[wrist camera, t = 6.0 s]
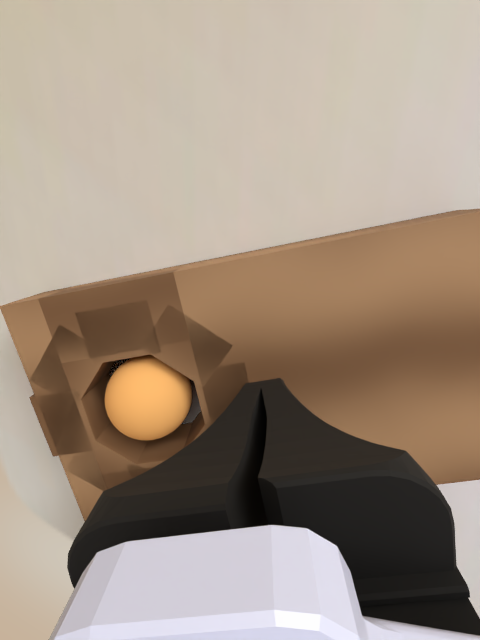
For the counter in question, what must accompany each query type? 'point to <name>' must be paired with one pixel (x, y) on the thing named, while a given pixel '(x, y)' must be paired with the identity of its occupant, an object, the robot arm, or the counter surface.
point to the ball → (147, 398)
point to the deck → (274, 345)
